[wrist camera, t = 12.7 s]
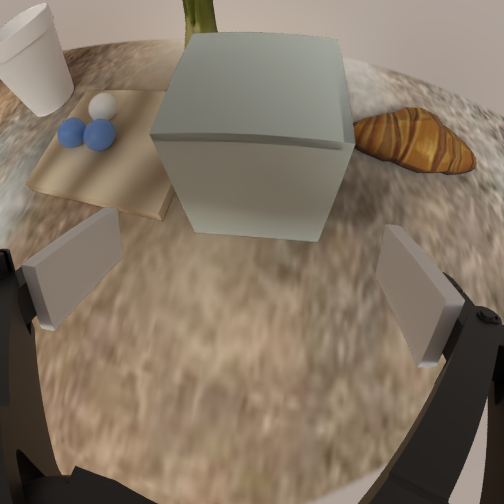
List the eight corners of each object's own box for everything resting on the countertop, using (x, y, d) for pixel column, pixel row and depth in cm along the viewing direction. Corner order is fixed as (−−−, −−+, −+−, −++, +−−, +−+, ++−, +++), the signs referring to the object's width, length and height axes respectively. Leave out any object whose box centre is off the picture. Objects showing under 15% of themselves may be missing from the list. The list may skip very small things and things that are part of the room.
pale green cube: (194, 232, 23) (149, 133, 13) (213, 139, 26) (193, 33, 16) (317, 242, 23) (355, 143, 12) (317, 145, 26) (338, 39, 15)
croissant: (460, 143, 26) (481, 113, 22) (475, 197, 24) (502, 169, 19) (342, 116, 27) (352, 77, 23) (344, 172, 25) (358, 133, 20)
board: (31, 190, 26) (25, 184, 25) (91, 97, 30) (87, 90, 29) (162, 221, 24) (158, 214, 23) (216, 104, 28) (215, 95, 27)
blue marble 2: (86, 156, 25) (72, 136, 22) (101, 131, 26) (89, 111, 23) (110, 159, 25) (97, 138, 22) (125, 133, 26) (114, 111, 23)
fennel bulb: (191, 66, 31) (173, -24, 19) (235, 62, 30) (226, -31, 19) (186, 98, 29) (161, -3, 17) (235, 93, 28) (224, -12, 17)
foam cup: (59, 73, 33) (24, 8, 21) (98, 77, 31) (62, -3, 19) (15, 121, 30) (-32, 58, 18) (48, 131, 29) (-7, 53, 16)
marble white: (90, 127, 26) (78, 107, 24) (104, 106, 27) (94, 86, 25) (112, 129, 26) (101, 108, 23) (127, 107, 27) (117, 85, 24)
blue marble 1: (61, 153, 25) (46, 135, 23) (75, 130, 26) (63, 111, 24) (81, 155, 25) (67, 136, 22) (96, 131, 26) (84, 111, 23)
